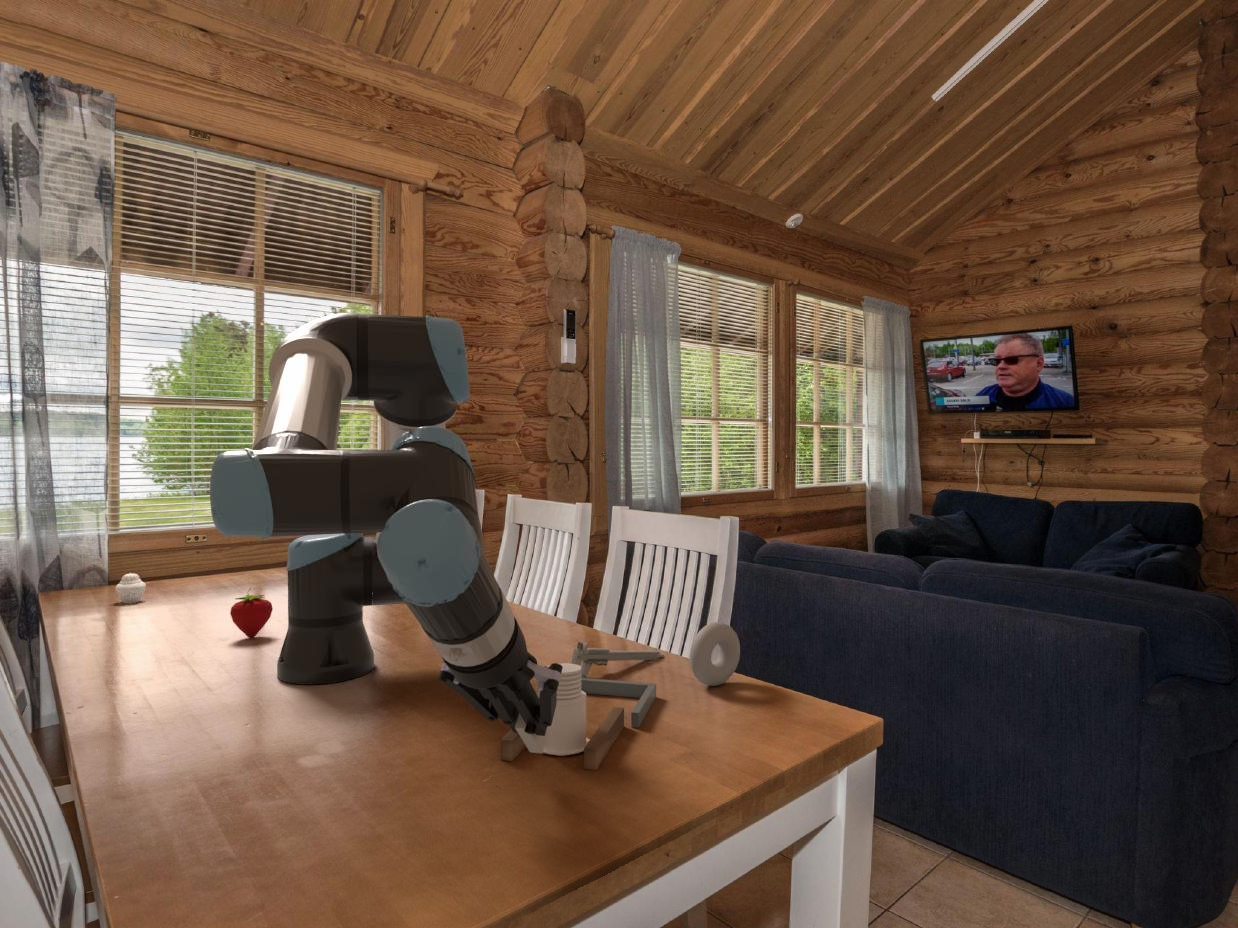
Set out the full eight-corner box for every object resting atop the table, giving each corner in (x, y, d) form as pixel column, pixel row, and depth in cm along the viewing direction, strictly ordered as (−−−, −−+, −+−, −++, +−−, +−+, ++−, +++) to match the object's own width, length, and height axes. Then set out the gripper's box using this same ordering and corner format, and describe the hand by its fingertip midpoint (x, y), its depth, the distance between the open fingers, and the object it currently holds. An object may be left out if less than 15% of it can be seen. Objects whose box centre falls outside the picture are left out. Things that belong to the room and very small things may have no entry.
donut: (700, 694, 115) (700, 629, 115) (684, 689, 118) (684, 625, 117) (744, 681, 121) (745, 619, 121) (728, 676, 124) (729, 615, 124)
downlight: (589, 759, 92) (589, 676, 92) (531, 758, 92) (531, 676, 92) (592, 736, 100) (592, 660, 100) (539, 735, 100) (539, 659, 100)
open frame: (526, 717, 106) (526, 702, 106) (555, 688, 118) (555, 675, 118) (638, 727, 102) (638, 712, 102) (656, 696, 114) (656, 683, 114)
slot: (500, 759, 92) (500, 739, 92) (539, 718, 105) (539, 700, 105) (596, 770, 89) (596, 749, 89) (624, 726, 102) (624, 707, 102)
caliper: (575, 683, 121) (575, 644, 121) (571, 681, 122) (571, 642, 122) (664, 658, 135) (664, 623, 135) (660, 656, 136) (660, 622, 136)
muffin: (123, 605, 176) (122, 575, 176) (110, 602, 179) (109, 573, 179) (151, 601, 181) (150, 571, 181) (138, 598, 185) (138, 569, 184)
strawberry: (276, 637, 148) (275, 586, 147) (234, 644, 143) (233, 591, 143) (269, 631, 152) (268, 582, 152) (227, 637, 148) (226, 586, 147)
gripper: (399, 665, 69) (476, 767, 86) (533, 675, 66) (587, 780, 83) (426, 596, 74) (495, 705, 91) (552, 602, 71) (599, 715, 88)
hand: (538, 741), depth 87 cm, fingers closed
